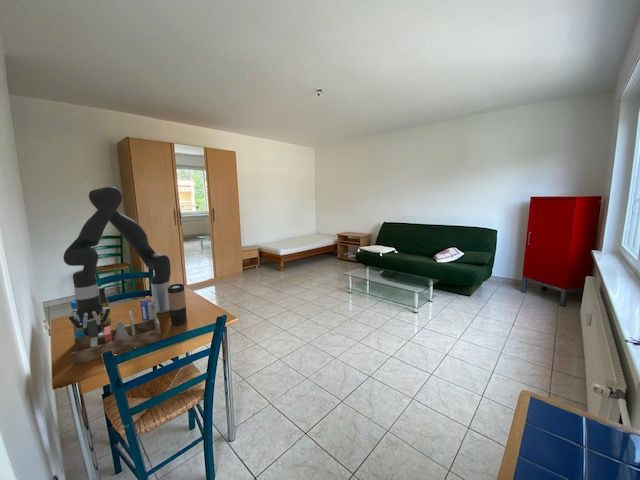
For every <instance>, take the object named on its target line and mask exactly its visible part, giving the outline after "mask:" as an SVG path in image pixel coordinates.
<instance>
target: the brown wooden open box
mask: <svg viewBox="0 0 640 480" xmlns="http://www.w3.org/2000/svg"><path fill="white" fill-rule="evenodd" d="M128 314H129V323H130V324H127V325H124V328H125V330H126V332H127V333H128V335H129V336H130V337H127V338H124V339H120V340H116V341H114V338H115V334H116V327H115V328H110V330H111V337H112V342H109V343H105V337H102V338H98V342H97V346H94V347H91V344H90V342H91V338H89V336H83V337H79V338H75V337H74V338H73V340H74V346H75V351H73V352H71V354H70V355H71V361H72V366H76V365H79V364H82V363H85V362H89V361H93V360H96V359H99V358H103V357H102V356H101V354H102V353H103V352H105V351H108V350H111V349H113V350H114V353H113V354H115V353H116V354H117V353H119V352H122V351H127V350H130V349H133V348H137V347H141V346H143V345H147V344H151V343H154V342H158V341H160V340H162V339H163V337H162V332H161V324H160V321H159V318H158V316H157V315H158V314H157V313H155V314H153V316H154V319H151V320H147V321H143V320H142V321H140V322H135V321H134V317H133V311H132V310H129V311H128ZM156 314H157V315H156ZM100 333H104V330H102V331H100ZM100 333H99V334H100Z"/></svg>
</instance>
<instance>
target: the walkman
mask: <svg viewBox="0 0 640 480" xmlns="http://www.w3.org/2000/svg"><path fill="white" fill-rule="evenodd" d="M139 303H140V311H141V318H142V322H143V321H147V320H151V319H154V316H153V314H155V313H156V307H155V301H153V300H151V299H145V298H144V299H143V300H139ZM156 315H158V313H156Z"/></svg>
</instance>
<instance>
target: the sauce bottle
mask: <svg viewBox="0 0 640 480" xmlns="http://www.w3.org/2000/svg"><path fill="white" fill-rule="evenodd" d="M98 289H99V296H100V302H101V305H102V306H103V307H105V308H107V307H110V301H109V299H108V297H107V295H106V292H105V291H106V288H105V286H104V285H103V286H102V285H101V286H98ZM110 308H111V307H110ZM104 314H105V313H104V312H103V310H102V311H101V312H100V314H99V318H100V320H101V319H103V316H104ZM111 321H112V317H111V311H110V312H109V314H108V317H107V319H106V322H103V323H102V324H101V326H102V327H104V326H105V327H106V326H109V325H110V324H111Z"/></svg>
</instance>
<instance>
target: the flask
mask: <svg viewBox="0 0 640 480" xmlns="http://www.w3.org/2000/svg"><path fill="white" fill-rule="evenodd" d="M114 326H115V328H116V334H115V338H114V340H113V341H116V340H120V339H124V338H127V337H131V335H130V336H129V335H128V333H127V332H126V330H125V328H124V326H125V321H119V322H115V323H114Z"/></svg>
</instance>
